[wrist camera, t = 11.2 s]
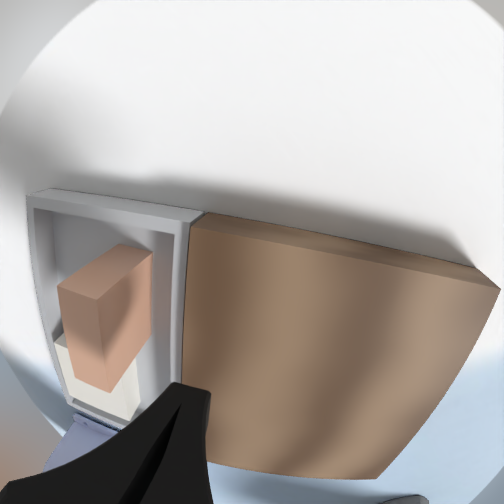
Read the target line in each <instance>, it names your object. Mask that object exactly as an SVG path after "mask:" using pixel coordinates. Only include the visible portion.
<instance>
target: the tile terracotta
mask: <svg viewBox="0 0 504 504" xmlns="http://www.w3.org/2000/svg"><path fill="white" fill-rule="evenodd" d="M152 267H153V252H151V251H147V250H143V249H138V248H134V247H130V246H126V245H122V244H117V245H116V246H114V247H113V248H111V249H110V250H108V251H107V252H105V253H104V254H102V255H101V256H99V257H98V258H96V259H94V260H93V261H91V262H90V263H89V264H87V265H86V266H84V267H83V268H81V269H80V270H78V271H77V272H75V273H74V274H72V275H71V276H69V277H68V278H67V279H65V280H64V281H62V282H61V283H59V284H58V285H57V292H58V299H59V306H60V312H61V317H62V323H63V328H64V333H65V338H66V343H67V347H68V352H69V356H70V360H71V364H72V368H73V372H74V376H75V378H76V379H78V380H80V381H83V382H85V383H87V384H89V385H91V386H94V387H96V388H98V389H101V390H103V391H105V392H108V393H111V392H112V390H113V389H114V388H115V386H116V385H117V383H118V382H119V380H120V379H121V377H122V376H123V374H124V373H125V371H126V370H127V369H128V367H129V366H130V364H131V363H132V361H133V360H134V358H135V357H136V356H137V354H138V353H139V351H140V350H141V348H142V347H143V346H144V344H145V343H146V341H147V340H148V339H149V337H150V336H151V334H152V331H151V307H152Z"/></svg>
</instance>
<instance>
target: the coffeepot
mask: <svg viewBox="0 0 504 504" xmlns="http://www.w3.org/2000/svg"><path fill="white" fill-rule="evenodd" d="M380 504H429V501H428V500H427V499H426V498H425V497H423V496H407V497H402V498H397V499H393V500H389V501H386V502H383V503H380Z"/></svg>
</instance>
